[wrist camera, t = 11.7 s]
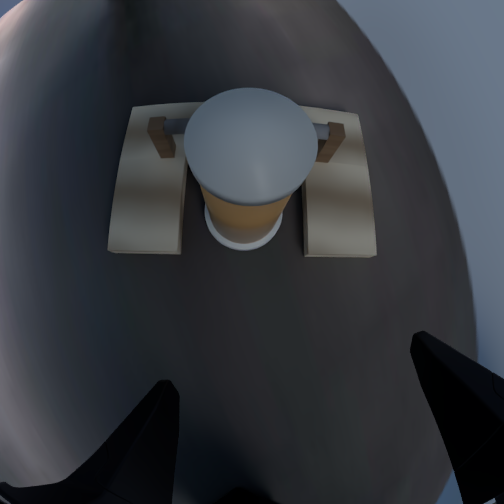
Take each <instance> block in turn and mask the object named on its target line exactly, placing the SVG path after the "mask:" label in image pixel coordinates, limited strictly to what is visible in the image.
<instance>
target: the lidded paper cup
mask: <svg viewBox="0 0 504 504" xmlns="http://www.w3.org/2000/svg"><path fill="white" fill-rule="evenodd" d="M184 149H185V154H186V157H187V160H188V163H189V166H190V169H191V171H192V173H193V175H194V177H195V178H196V180H197V181H198V183H199V184H200V187H201V190H202V193H203V197H204V200H205V203H206V204H205V219H206V223H207V226H208V228H209V230H210V232H211V234H212V235H213V237H214V238H215V239H216V240H217V241H218V242H219V243H221V244H222V245H224V246H225V247H228V248H230V249H233V250H238V251H249V250H254V249H257V248H259V247H261V246H263V245H265V244H266V243H268V242H269V241H270V240H271V239H272V238H273V236H274V235H275V233H276V232H277V230H278V228H279V226H280V224H281V221H282V212H283V209H284V208H285V206H286V204H287V202H288V200H289V199H290V197H291V195H292V193H293V192H294V191H296V190H297V189H298V188H299V187H300V186H301V184H302V183H303V182H304V180H305V179H306V177H307V176H308V174H309V172H310V171H311V169H312V167H313V165H314V163H315V160H316V156H317V151H318V139H317V135H316V131H315V128H314V126H313V124H312V122H311V120H310V118H309V117H308V116H307V114H306V113H305V112H304V111H303V110H302V109H301V108H300V107H299V106H298V105H297V104H296V103H295V102H293V101H292V100H290V99H289V98H287V97H285V96H283V95H281V94H278V93H276V92H273V91H269V90H265V89H260V88H239V89H233V90H228V91H225V92H222V93H220V94H218V95H215V96H213V97H212V98H210V99H208V100H207V101H206V102H204V103H203V104H202V105H201V106H200V107H199V108H198V109H197V110H196V111H195V112H194V114H193V115H192V116H191V118H190V120H189V122H188V124H187V127H186V130H185V135H184Z"/></svg>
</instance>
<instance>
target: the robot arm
mask: <svg viewBox="0 0 504 504" xmlns="http://www.w3.org/2000/svg"><path fill="white" fill-rule="evenodd" d="M410 353H411V357H412V360H413V363H414V365H415V369H416V372H417V375H418V378H419V381H420V384H421V387H422V389H423V392H424V394H425V396H426V399H427V401H428V403H429V406H430V408H431V411H432V413H433V415H434V418H435V420H436V423H437V425H438V428H439V430H440V433H441V436H442V438H443V441H444V444H445V446H446V449H447V452H448V455H449V458H450V461H451V464H452V467H453V470H454V473H455V477H456V480H457V483H458V486H459V490H460V493H461V497H462V501H463V504H484V503H486V502H488V501H489V500H491V499H493V498H495V500H496V502H495V503H493V504H504V379H503V378H501V377H500V376H498V375H497V374H495V373H492V372H491V371H490V370H488V369H487V368H485V367H483V366H482V365H480V364H479V363H477V362H475V361H474V360H472V359H470V358H469V357H467V356H465V355H464V354H462V353H461V352H459V351H457V350H456V349H454V348H452V347H451V346H449V345H447V344H446V343H444V342H442V341H441V340H439V339H437V338H436V337H434V336H432V335H430V334H429V333H427V332H425V331H420V332H417V333H415V334H414V335H413V338H412V343H411V347H410ZM179 400H180V397H179V393H178V391H177V390H176V388H175V387H174V385H173V384H172V382H171V381H170V380H159V381H158V382H157V383H156V384H155V386H154V387H153V388H152V389H151V390H150V391H149V392H148V394H147V395H146V396H145V397H144V398H143V399H142V400H141V401H140V403H139V404H138V405H137V406H136V407H135V408H134V409H133V411H132V412H131V413H130V414H129V415H128V416H127V417H126V418H125V420H124V421H123V422H122V423H121V424H120V425H119V426H118V428H117V429H116V430H115V431H114V432H113V433H112V434H111V435H110V436H109V438H108V439H107V440H106V441H105V442H104V443H103V444H102V445H101V446H100V448H99V449H98V450H97V451H96V452H95V453H94V454H93V455H92V456H91V457H90V458H89V459H88V460H87V461H85V462H84V463H83V464H82V465H81V466H80V467H79V468H78V469H76V470H75V471H74V472H73V473H72V474H71V475H70V476H68V477H67V478H66V479H64V480H63V481H60V482H58V483H53V484H47V485H40V486H31V487H20V488H18V487H12V486H11V485H9V484H8V483H6V482H0V495H1V496H2V497H3V498H5V499H6V500H7V501H8V502H10V503H11V504H172V493H173V482H174V472H175V463H176V454H177V445H178V437H179ZM0 504H7V503H5V502H4V501H2V500H0ZM214 504H276V503H273V502H271V501H269V500H266V499H264V498H262V497H260V496H256V495H254V494H252V493H250V492H248V491H246V490H244V489H242V488H235V489H233V490H232V491H231V492H229V493H228V494H227V495H225V496H224V497H222V498H221V499H220V500H218V501H217V502H215V503H214Z"/></svg>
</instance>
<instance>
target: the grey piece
mask: <svg viewBox="0 0 504 504" xmlns="http://www.w3.org/2000/svg"><path fill="white" fill-rule="evenodd" d="M203 103H204V102H189V103H172V104H159V105H148V106H139V107H133V109H132V112H131V116H130V120H129V124H128V128H127V132H126V136H125V140H124V144H123V149H122V154H121V158H120V163H119V169H118V174H117V180H116V185H115V192H114V198H113V205H112V212H111V220H110V229H109V239H108V251H111V252H114V253H140V254H181V244H182V227H183V212H184V199H185V187H186V177H187V167H188V164H189V163H188V160H187V157H186V154H185V149H184V135H185V130H186V127H187V124H188V122H189V120H190V118H191V116H192V115H193V114H194V112H195V111H196V110H197V109H198V108H199V107H200V106H201V105H202V104H203ZM299 107H300V108H301V109H302V110H303V111H304V112H305V113H306V114H307V116H308V117H309V118H310V120H311V122H312V124H313V126H314V128H315V131H316V135H317V139H318V151H317V156H316V160H315V163H314V165H313V167H312V169H311V171H310V172H309V174H308V176H307V177H306V179H305V180H304V182H303V183H302V206H303V235H304V256H306V257H372V256H375V255H377V254H376V237H375V224H374V214H373V204H372V195H371V187H370V180H369V173H368V166H367V160H366V154H365V148H364V142H363V137H362V132H361V127H360V122H359V117H358V114H353V113H348V112H342V111H335V110H329V109H322V108H314V107H306V106H299Z"/></svg>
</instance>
